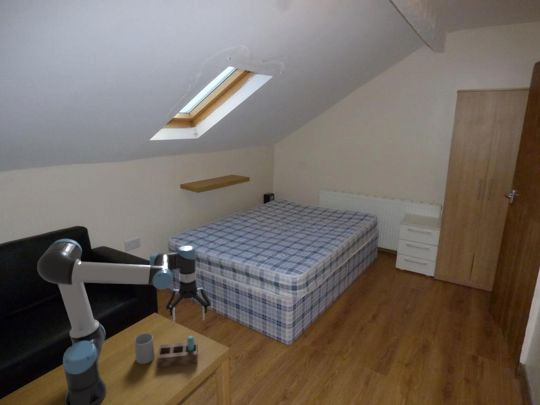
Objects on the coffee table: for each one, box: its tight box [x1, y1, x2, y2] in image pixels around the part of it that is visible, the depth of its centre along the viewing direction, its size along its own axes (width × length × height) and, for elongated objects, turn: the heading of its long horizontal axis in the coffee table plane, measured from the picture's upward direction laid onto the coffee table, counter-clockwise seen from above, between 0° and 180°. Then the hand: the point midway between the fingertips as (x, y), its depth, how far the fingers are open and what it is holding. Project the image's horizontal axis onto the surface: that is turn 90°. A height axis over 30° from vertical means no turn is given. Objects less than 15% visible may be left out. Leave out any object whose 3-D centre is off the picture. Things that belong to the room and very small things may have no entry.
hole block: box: [157, 341, 199, 368], centre depth 162 cm, size 18×9×5 cm, turn 100°
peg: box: [186, 335, 195, 352], centre depth 163 cm, size 3×3×11 cm
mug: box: [133, 332, 155, 365], centre depth 163 cm, size 12×8×11 cm
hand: (189, 319), depth 158 cm, fingers open, 13 cm apart
